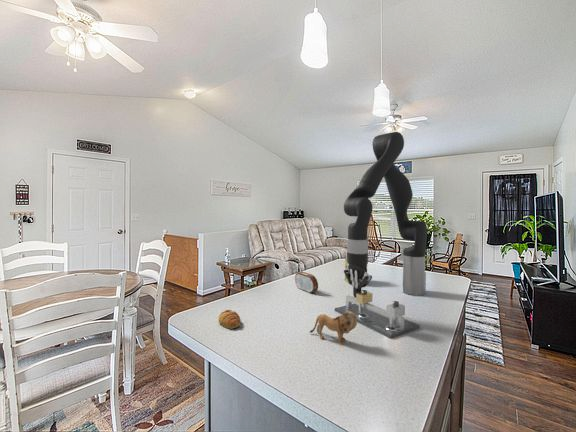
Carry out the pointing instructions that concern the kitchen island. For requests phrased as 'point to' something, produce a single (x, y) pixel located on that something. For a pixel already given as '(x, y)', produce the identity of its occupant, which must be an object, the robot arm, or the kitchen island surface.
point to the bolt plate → (377, 321)
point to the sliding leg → (363, 298)
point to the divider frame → (384, 311)
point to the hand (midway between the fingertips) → (357, 297)
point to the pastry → (229, 319)
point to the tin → (306, 282)
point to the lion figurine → (336, 324)
